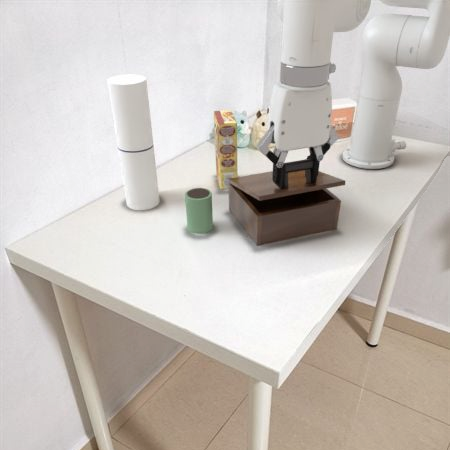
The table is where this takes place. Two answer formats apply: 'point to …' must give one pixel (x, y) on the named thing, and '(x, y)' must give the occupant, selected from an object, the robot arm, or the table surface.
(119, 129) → the cylindrical container
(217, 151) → the candy box
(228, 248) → the table surface
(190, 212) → the pencil cup
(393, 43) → the robot arm
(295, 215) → the chest
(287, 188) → the chest lid
